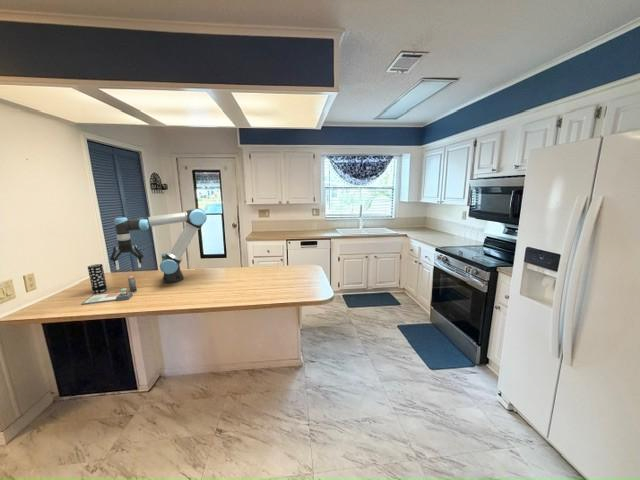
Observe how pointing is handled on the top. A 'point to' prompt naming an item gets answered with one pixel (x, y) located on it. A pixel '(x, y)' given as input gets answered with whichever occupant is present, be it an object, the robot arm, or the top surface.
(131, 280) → the grey upright cylinder
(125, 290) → the button
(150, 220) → the robot arm
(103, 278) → the spotted tube
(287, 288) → the top surface
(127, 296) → the button housing
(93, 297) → the picture board
